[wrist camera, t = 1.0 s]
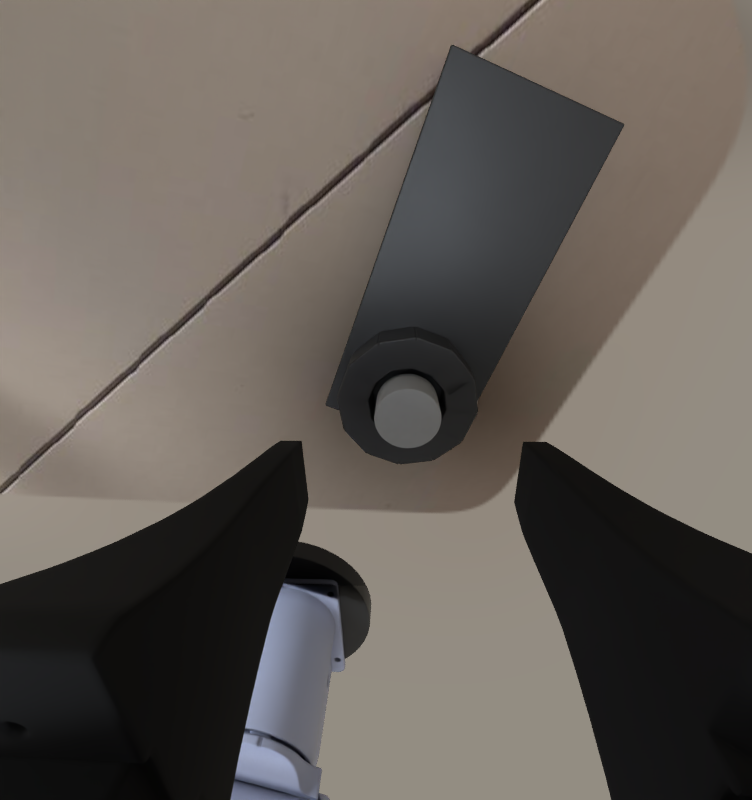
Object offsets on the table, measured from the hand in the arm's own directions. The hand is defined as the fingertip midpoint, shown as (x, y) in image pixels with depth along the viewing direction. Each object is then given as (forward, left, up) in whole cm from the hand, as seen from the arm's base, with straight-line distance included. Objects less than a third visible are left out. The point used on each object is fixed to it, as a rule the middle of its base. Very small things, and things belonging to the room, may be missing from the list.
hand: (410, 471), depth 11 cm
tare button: (0, 0, -5) cm, 5 cm away
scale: (+4, -2, -7) cm, 9 cm away
